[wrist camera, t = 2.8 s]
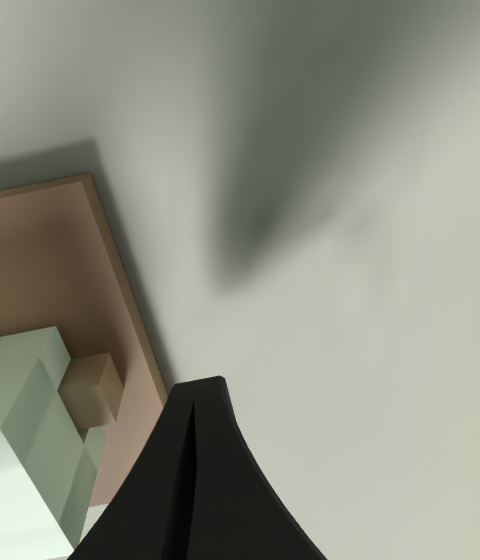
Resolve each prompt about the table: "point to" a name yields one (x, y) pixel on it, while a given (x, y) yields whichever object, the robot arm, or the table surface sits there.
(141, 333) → the track board
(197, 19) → the table surface
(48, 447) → the block
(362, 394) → the table surface
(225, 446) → the robot arm
